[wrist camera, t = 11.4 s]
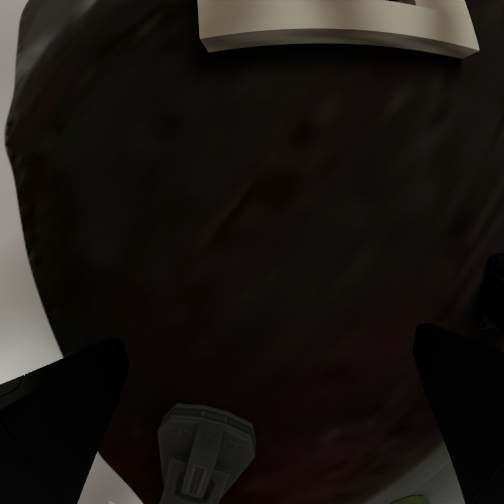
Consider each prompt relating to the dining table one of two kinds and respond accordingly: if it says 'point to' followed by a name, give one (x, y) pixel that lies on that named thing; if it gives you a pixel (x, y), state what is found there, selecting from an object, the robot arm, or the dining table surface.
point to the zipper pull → (202, 453)
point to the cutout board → (339, 24)
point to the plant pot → (413, 500)
